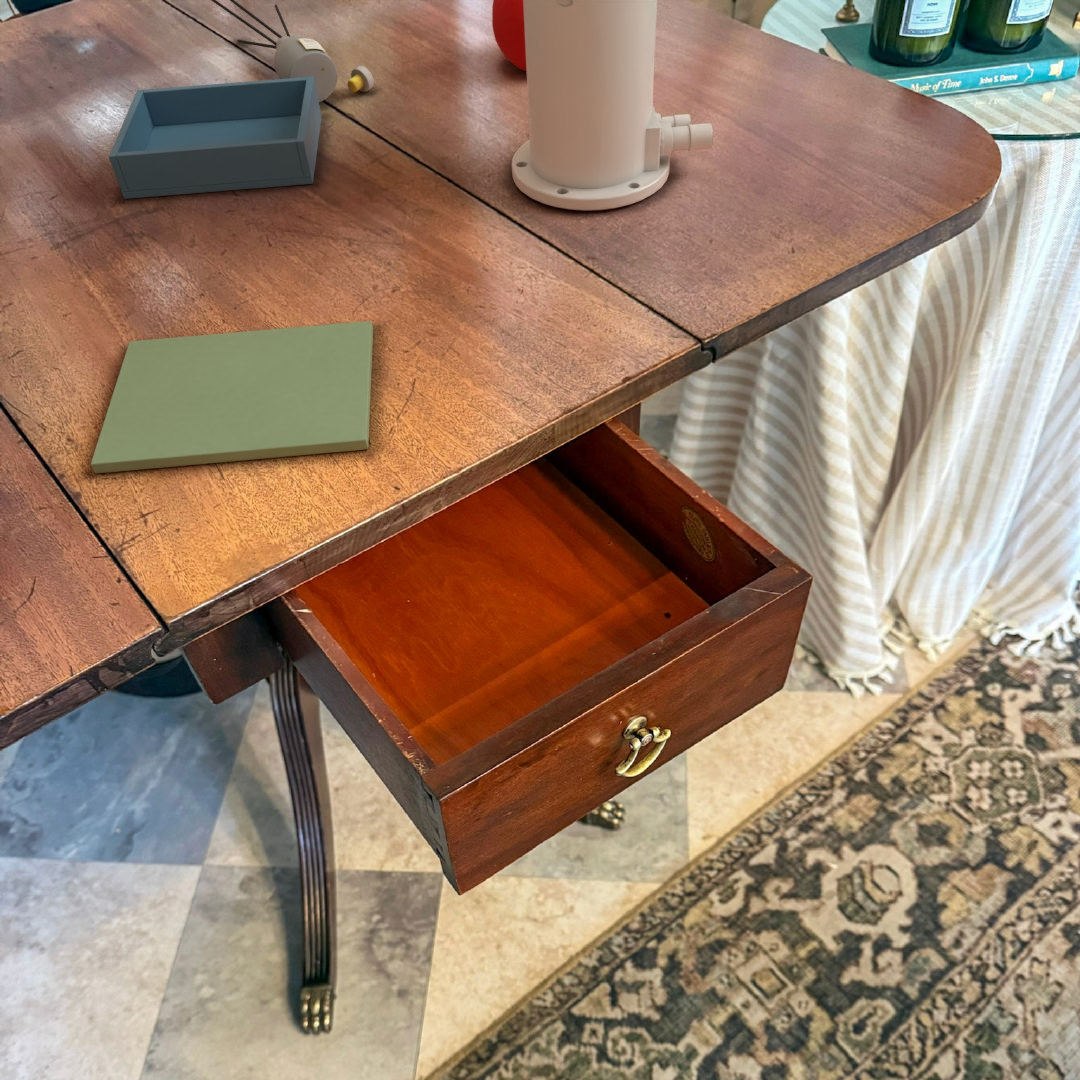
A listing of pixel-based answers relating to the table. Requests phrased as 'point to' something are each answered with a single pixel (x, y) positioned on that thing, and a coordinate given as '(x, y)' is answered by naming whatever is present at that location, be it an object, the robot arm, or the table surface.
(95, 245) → the table surface
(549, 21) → the robot arm
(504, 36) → the fruit
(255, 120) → the blue tote
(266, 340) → the mat
